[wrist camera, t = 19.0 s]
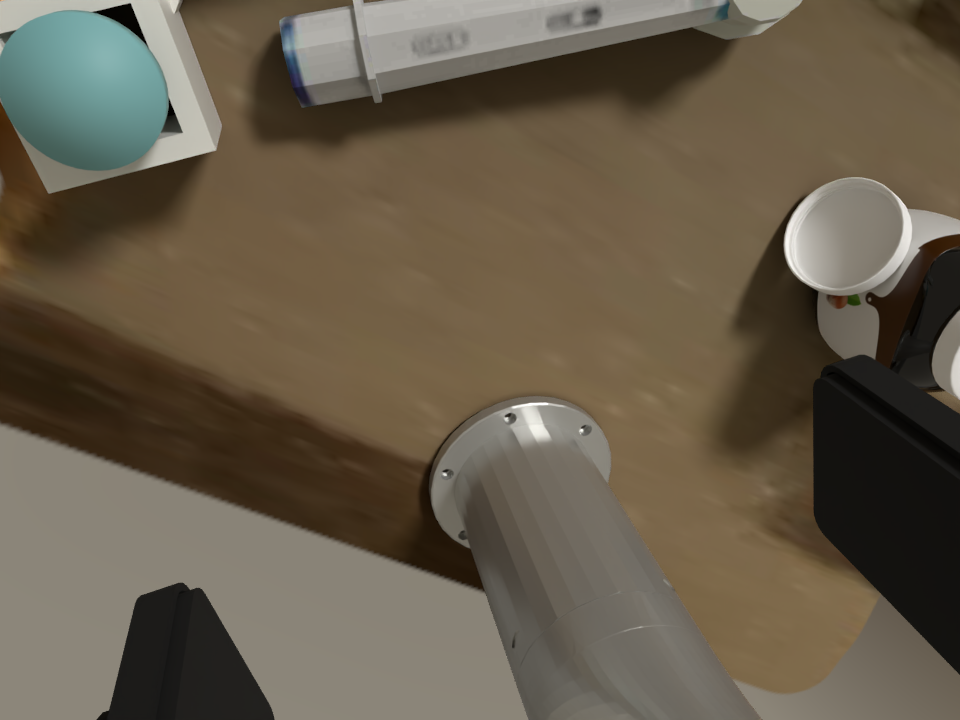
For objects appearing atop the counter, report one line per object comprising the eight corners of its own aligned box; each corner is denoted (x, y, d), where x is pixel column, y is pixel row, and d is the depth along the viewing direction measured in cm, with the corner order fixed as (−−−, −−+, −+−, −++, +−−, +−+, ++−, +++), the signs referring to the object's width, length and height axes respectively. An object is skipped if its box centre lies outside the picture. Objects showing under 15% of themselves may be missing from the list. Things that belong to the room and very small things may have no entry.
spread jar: (883, 335, 53) (1024, 424, 43) (744, 342, 50) (860, 440, 40) (945, 166, 47) (1123, 225, 38) (792, 164, 45) (940, 228, 35)
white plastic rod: (269, 4, 31) (860, -97, 31) (287, -9, 36) (786, -95, 37) (303, 132, 33) (846, 36, 34) (315, 101, 39) (780, 20, 40)
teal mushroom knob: (200, 118, 35) (188, 149, 29) (79, 149, 34) (45, 187, 29) (149, -14, 32) (126, -5, 26) (15, 18, 31) (-36, 33, 26)
